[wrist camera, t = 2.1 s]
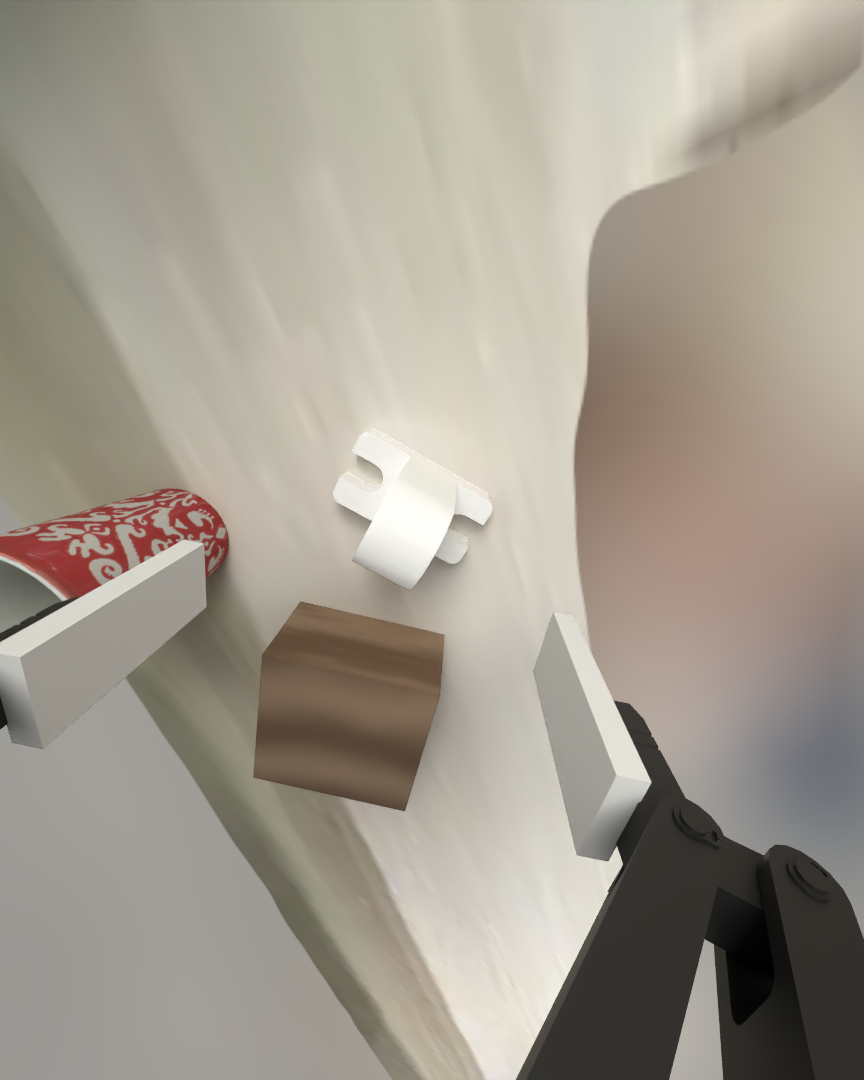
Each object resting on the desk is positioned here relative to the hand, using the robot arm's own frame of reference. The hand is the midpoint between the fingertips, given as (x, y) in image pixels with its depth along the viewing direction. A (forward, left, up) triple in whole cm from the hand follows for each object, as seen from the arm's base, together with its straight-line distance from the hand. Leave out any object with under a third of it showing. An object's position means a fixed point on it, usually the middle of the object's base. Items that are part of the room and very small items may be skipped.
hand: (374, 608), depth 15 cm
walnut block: (+17, -2, -15) cm, 23 cm away
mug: (+7, -19, -15) cm, 25 cm away
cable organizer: (0, 0, -15) cm, 15 cm away
